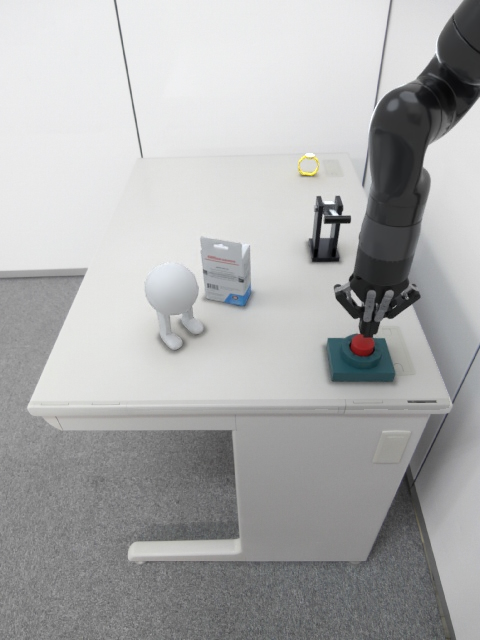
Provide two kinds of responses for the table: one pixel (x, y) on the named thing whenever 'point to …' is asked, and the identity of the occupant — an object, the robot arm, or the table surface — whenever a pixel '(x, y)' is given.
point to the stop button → (362, 346)
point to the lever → (334, 214)
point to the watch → (308, 156)
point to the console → (359, 361)
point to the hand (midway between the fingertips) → (367, 333)
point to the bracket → (325, 246)
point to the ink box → (226, 270)
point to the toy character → (173, 299)
